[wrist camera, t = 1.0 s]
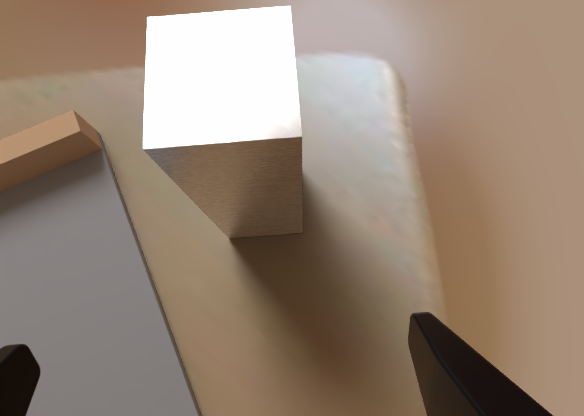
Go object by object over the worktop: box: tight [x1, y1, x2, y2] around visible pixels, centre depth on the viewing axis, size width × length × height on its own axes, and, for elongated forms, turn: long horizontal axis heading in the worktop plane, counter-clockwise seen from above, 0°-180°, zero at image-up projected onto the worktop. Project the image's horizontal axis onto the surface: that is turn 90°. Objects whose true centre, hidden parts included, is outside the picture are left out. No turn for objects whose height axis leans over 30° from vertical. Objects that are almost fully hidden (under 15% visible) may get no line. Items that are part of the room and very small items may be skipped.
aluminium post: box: [143, 6, 303, 238], centre depth 18 cm, size 4×4×13 cm
